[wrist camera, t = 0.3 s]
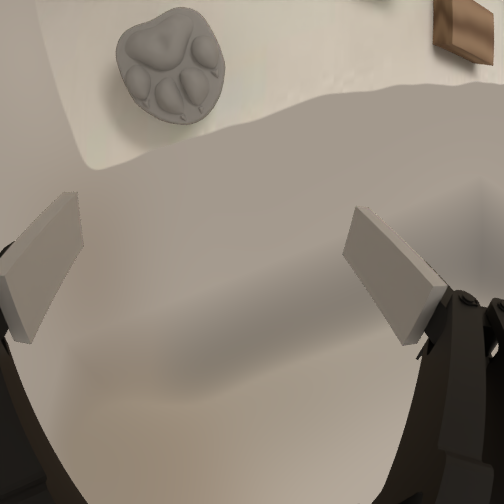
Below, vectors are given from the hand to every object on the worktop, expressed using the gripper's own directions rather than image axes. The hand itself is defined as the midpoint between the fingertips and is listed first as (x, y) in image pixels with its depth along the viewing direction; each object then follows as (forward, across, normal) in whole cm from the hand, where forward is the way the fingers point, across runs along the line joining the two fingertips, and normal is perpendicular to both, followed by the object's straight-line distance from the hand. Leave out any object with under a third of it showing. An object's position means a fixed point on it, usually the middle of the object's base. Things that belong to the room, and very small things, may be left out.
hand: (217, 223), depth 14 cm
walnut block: (+28, +35, +25) cm, 52 cm away
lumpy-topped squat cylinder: (+28, -5, +8) cm, 29 cm away
